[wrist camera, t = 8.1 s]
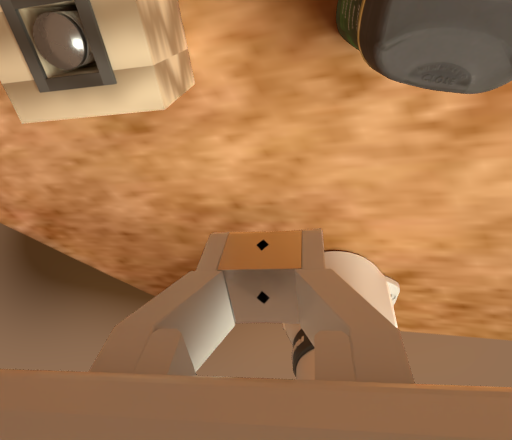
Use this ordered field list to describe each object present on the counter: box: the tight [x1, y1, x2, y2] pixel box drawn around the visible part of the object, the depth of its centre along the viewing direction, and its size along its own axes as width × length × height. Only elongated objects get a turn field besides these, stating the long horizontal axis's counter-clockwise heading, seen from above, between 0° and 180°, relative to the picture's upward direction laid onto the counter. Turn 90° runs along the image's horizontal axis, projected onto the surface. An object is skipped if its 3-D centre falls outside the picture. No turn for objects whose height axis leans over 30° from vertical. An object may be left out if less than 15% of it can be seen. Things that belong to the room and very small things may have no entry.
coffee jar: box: [336, 0, 512, 94], centre depth 24 cm, size 10×8×19 cm
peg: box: [33, 10, 95, 70], centre depth 31 cm, size 4×4×10 cm
